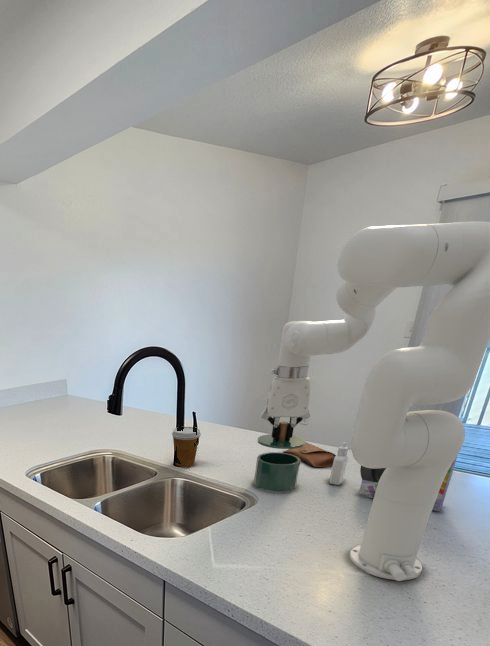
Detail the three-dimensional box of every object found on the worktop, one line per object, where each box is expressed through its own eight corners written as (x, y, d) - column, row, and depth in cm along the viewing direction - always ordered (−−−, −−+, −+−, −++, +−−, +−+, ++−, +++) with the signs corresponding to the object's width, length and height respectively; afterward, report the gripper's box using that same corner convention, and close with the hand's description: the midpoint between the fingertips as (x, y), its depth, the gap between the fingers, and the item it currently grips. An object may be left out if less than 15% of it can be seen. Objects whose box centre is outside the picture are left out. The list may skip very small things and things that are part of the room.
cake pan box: (353, 495, 121) (368, 432, 113) (358, 489, 124) (374, 428, 116) (438, 513, 108) (462, 445, 100) (442, 507, 111) (465, 440, 103)
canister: (299, 493, 123) (304, 465, 120) (257, 492, 126) (260, 464, 122) (290, 479, 133) (295, 452, 129) (251, 478, 136) (254, 452, 132)
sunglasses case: (281, 451, 155) (292, 434, 153) (294, 458, 158) (305, 442, 156) (315, 467, 139) (328, 448, 137) (329, 475, 142) (342, 457, 140)
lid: (309, 451, 117) (314, 428, 114) (260, 450, 120) (263, 428, 117) (298, 437, 128) (302, 416, 125) (254, 437, 130) (256, 417, 128)
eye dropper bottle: (349, 482, 129) (358, 443, 123) (335, 486, 127) (344, 446, 121) (336, 477, 132) (344, 439, 127) (322, 481, 130) (330, 442, 125)
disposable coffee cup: (165, 462, 153) (166, 428, 147) (188, 458, 156) (190, 424, 150) (180, 470, 145) (181, 435, 139) (204, 465, 148) (207, 431, 142)
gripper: (262, 375, 113) (253, 444, 122) (329, 374, 110) (315, 444, 118) (257, 371, 120) (249, 436, 128) (320, 369, 116) (308, 436, 125)
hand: (281, 439), depth 123 cm, fingers closed on lid, 2 cm apart
